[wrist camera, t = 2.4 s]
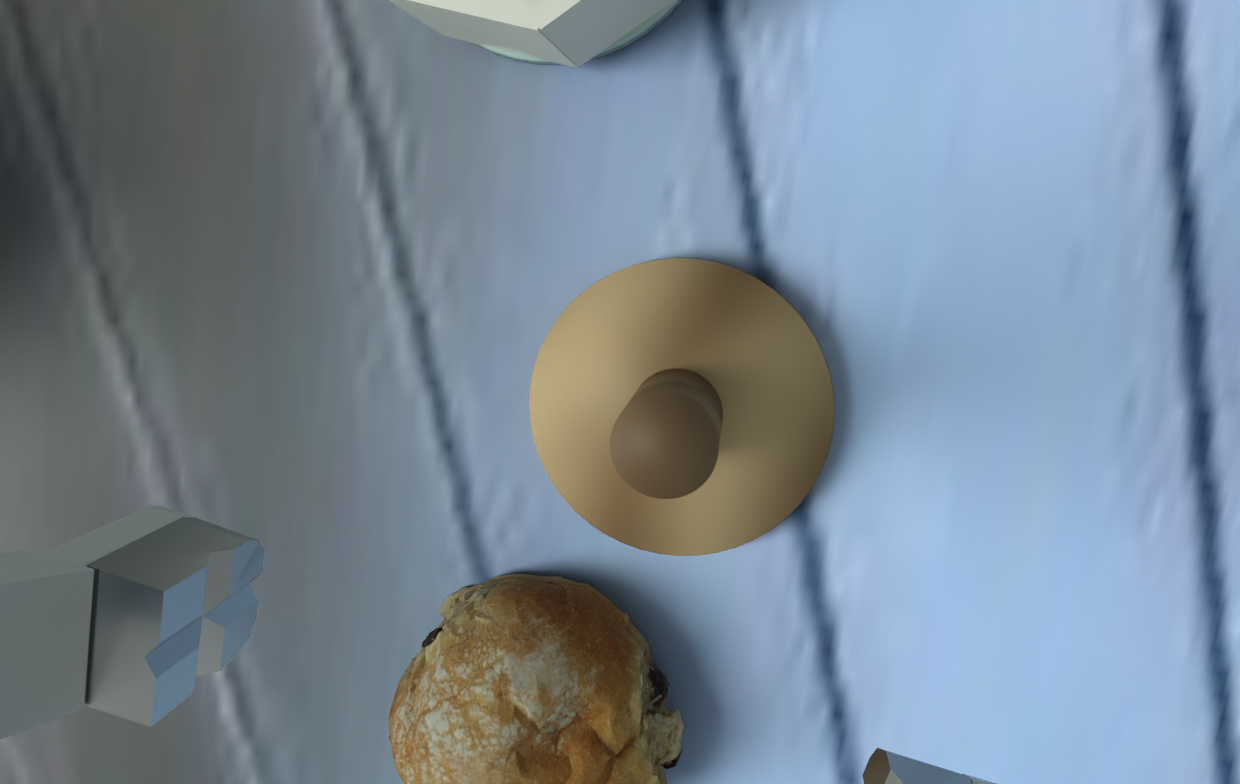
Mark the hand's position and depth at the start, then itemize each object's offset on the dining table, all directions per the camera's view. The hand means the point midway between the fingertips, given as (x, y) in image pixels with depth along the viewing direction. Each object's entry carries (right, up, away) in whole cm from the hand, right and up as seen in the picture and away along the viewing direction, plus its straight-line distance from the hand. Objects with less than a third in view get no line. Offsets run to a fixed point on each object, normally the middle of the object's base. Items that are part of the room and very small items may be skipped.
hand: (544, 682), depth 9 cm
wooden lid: (+3, +3, +16) cm, 16 cm away
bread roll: (-2, -7, +19) cm, 21 cm away
